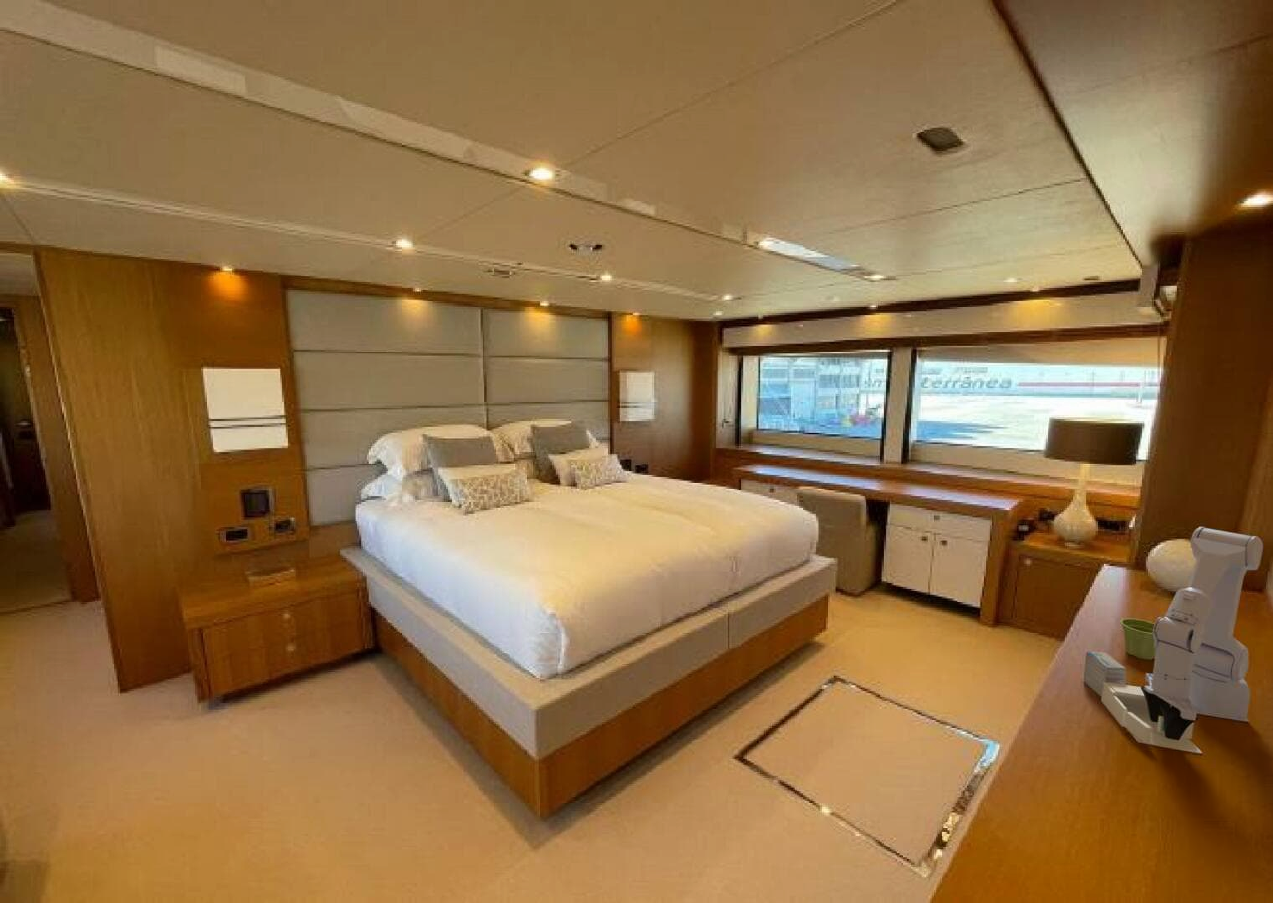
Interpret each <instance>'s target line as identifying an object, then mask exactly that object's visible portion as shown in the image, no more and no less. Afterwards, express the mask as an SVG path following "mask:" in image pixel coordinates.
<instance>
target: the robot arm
mask: <svg viewBox="0 0 1273 903" xmlns="http://www.w3.org/2000/svg"><path fill="white" fill-rule="evenodd" d="M1190 548H1191V552H1192V555H1193V557H1194V558H1195V560H1196V561H1195V562H1194V565H1193V568H1192V573H1191V575H1190V578H1189V581H1188V584H1187V587H1186V588H1182V589H1178V590H1177V591H1176V593H1175V595H1174V596H1173V599H1172V601H1171V603H1170V605H1169V607H1168V610H1167V611H1166V613H1165V614H1164V617H1162V616H1160V617H1158V618H1157V619H1156V621H1155V623H1154V624H1155V625H1154V629H1153V638H1154V648H1156V655H1155V658H1154V665H1153V670H1152V673H1148V672H1146V673H1145V676H1144V677H1145V678H1144V681H1145V683H1147V684H1148V685H1144V686H1143V685H1142V686H1140V687H1141V690H1142V692H1143V694H1144V696H1145V698H1146V702H1147V706H1148V711H1149V716H1150V720H1151V721H1152V722H1157V723H1158V718H1159V716H1163V718H1164V733H1165V737H1166V738H1168V739H1173V740H1180V738H1181V737H1182V735H1183V733H1184V732H1185V730H1186V729H1187V728H1188V727H1189V726H1190V725H1191V724H1192V723H1193V724H1194V723H1196V722H1197V721H1198V720H1199V716H1198V715H1203V716H1209V717H1215V718H1220V719H1221V718H1222V719H1228V720H1232V721H1233V720H1234V721H1240V722H1246V723H1249V718H1247V716H1248V713H1249V712H1248V711H1249V704H1250V699H1251V698H1250V697H1251V692H1250V691H1251V690H1250V687H1249V685H1248V682H1247V681H1246V680H1245V679H1244V678H1246V675H1247V673H1248V670H1249V666H1250V665H1249V662H1250V661H1249V649H1248V648H1247V647H1246V646H1245V645H1244V644H1243V643H1241V642H1240V641H1239V640H1237V639H1236V638H1235V636H1233V634H1234V631H1235V625H1236V620H1237V615H1238V608H1239V604H1240V597H1241V593H1242V587H1243V582H1244V577H1245V575H1246V574H1247V571H1257V570H1258V569H1259V567H1260V565H1261V560H1262V555H1263V549H1264V544H1263V541H1262V540H1261V538H1260V537H1259V536H1255V535H1253V536H1252V535H1247V534H1241V533H1236V532H1229V531H1225V530H1219V529H1213V528H1207V527H1206V526H1198V528H1196V529H1195V530H1194V531H1193V533H1192V534H1191V538H1190ZM1171 705H1172V707H1170V706H1171Z"/></svg>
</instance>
